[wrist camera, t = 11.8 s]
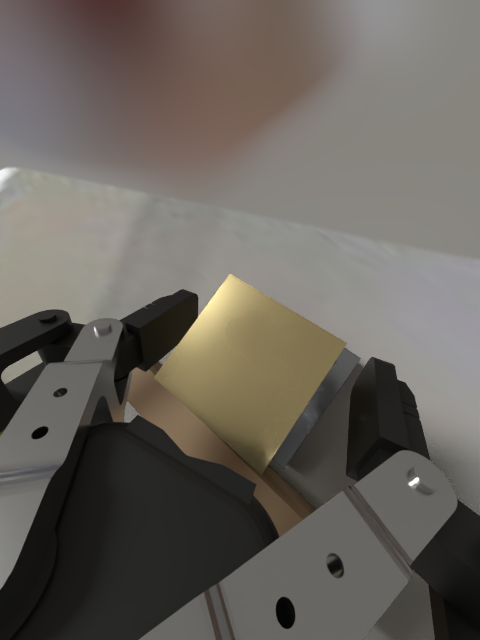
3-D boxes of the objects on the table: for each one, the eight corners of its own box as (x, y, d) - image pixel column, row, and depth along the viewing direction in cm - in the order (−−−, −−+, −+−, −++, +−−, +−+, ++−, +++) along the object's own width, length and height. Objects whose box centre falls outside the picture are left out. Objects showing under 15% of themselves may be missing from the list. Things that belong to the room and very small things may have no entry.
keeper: (194, 381, 17) (187, 381, 16) (259, 296, 18) (257, 290, 16) (283, 462, 14) (283, 469, 13) (355, 360, 15) (360, 358, 14)
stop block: (231, 379, 16) (153, 377, 7) (263, 334, 17) (230, 273, 7) (278, 416, 15) (261, 474, 6) (311, 366, 15) (346, 342, 6)
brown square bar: (133, 381, 18) (109, 381, 16) (152, 357, 18) (132, 353, 16) (341, 597, 12) (354, 649, 10) (366, 558, 12) (384, 599, 10)
